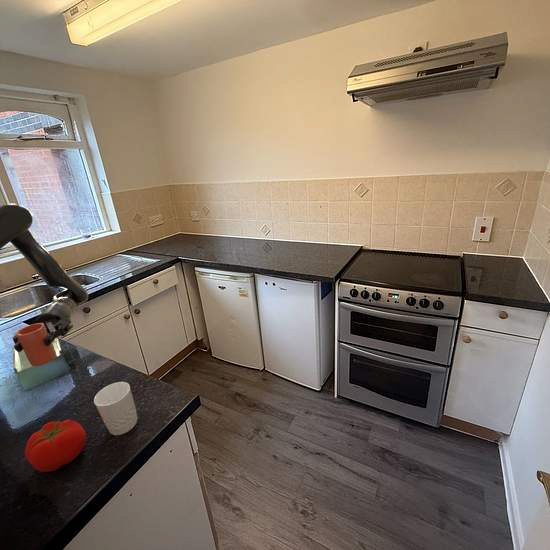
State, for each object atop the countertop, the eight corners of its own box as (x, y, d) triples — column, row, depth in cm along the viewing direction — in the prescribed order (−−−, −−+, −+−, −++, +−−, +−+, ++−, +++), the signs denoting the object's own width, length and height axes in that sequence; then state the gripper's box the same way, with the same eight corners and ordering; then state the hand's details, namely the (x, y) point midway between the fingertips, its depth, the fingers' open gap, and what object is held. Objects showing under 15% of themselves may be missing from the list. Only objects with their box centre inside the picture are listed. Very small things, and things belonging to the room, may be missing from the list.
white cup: (99, 432, 74) (86, 400, 70) (126, 408, 80) (115, 378, 77) (121, 442, 70) (108, 409, 67) (147, 416, 77) (136, 386, 73)
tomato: (93, 460, 67) (80, 431, 63) (32, 492, 61) (15, 463, 58) (88, 429, 75) (77, 402, 72) (35, 455, 69) (20, 427, 66)
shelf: (22, 368, 102) (12, 347, 99) (63, 352, 109) (55, 332, 106) (24, 391, 91) (13, 368, 88) (70, 371, 98) (61, 350, 95)
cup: (26, 368, 81) (11, 337, 78) (36, 355, 87) (22, 326, 83) (52, 362, 83) (38, 331, 79) (60, 350, 88) (47, 321, 85)
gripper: (24, 312, 92) (-6, 340, 77) (75, 302, 96) (57, 327, 81) (33, 333, 95) (6, 364, 80) (83, 322, 99) (66, 350, 84)
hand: (32, 345), depth 81 cm, fingers closed on cup, 6 cm apart
